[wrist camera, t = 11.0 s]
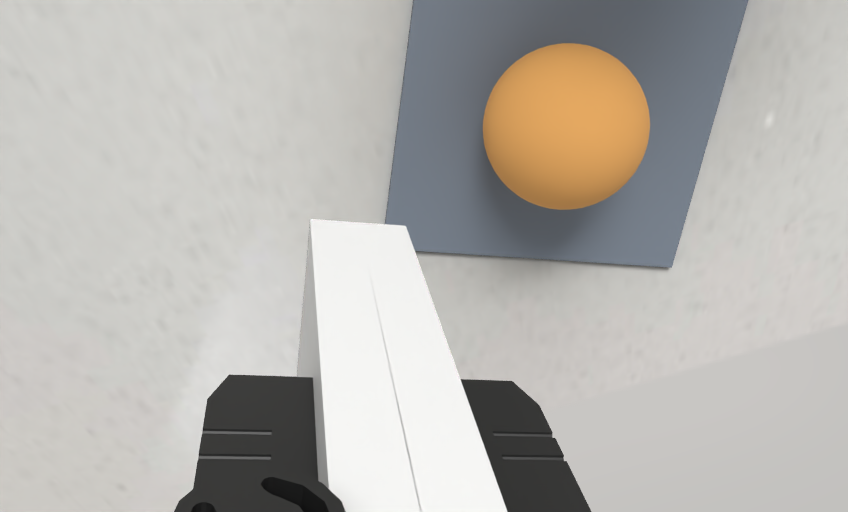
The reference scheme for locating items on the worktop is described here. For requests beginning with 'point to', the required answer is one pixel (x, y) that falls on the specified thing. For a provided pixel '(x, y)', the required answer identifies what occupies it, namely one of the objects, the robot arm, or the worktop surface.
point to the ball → (566, 126)
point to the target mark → (468, 95)
